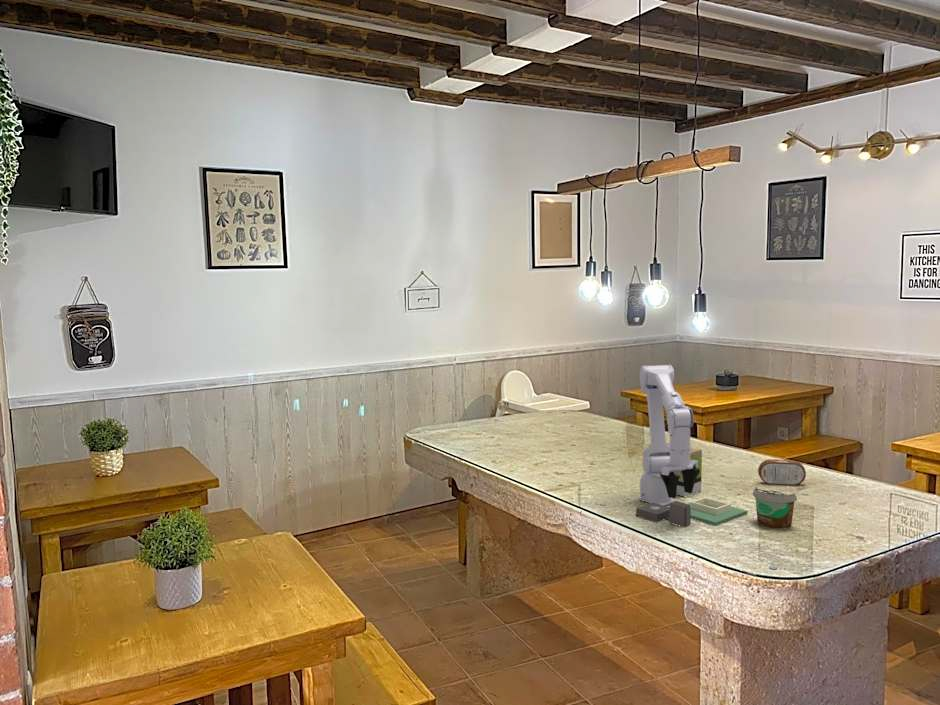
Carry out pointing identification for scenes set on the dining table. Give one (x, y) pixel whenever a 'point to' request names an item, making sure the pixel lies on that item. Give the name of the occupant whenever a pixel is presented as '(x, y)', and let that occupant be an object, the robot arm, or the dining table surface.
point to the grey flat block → (653, 512)
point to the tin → (782, 472)
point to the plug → (679, 513)
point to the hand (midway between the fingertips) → (680, 495)
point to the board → (714, 511)
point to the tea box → (694, 455)
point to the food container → (774, 508)
